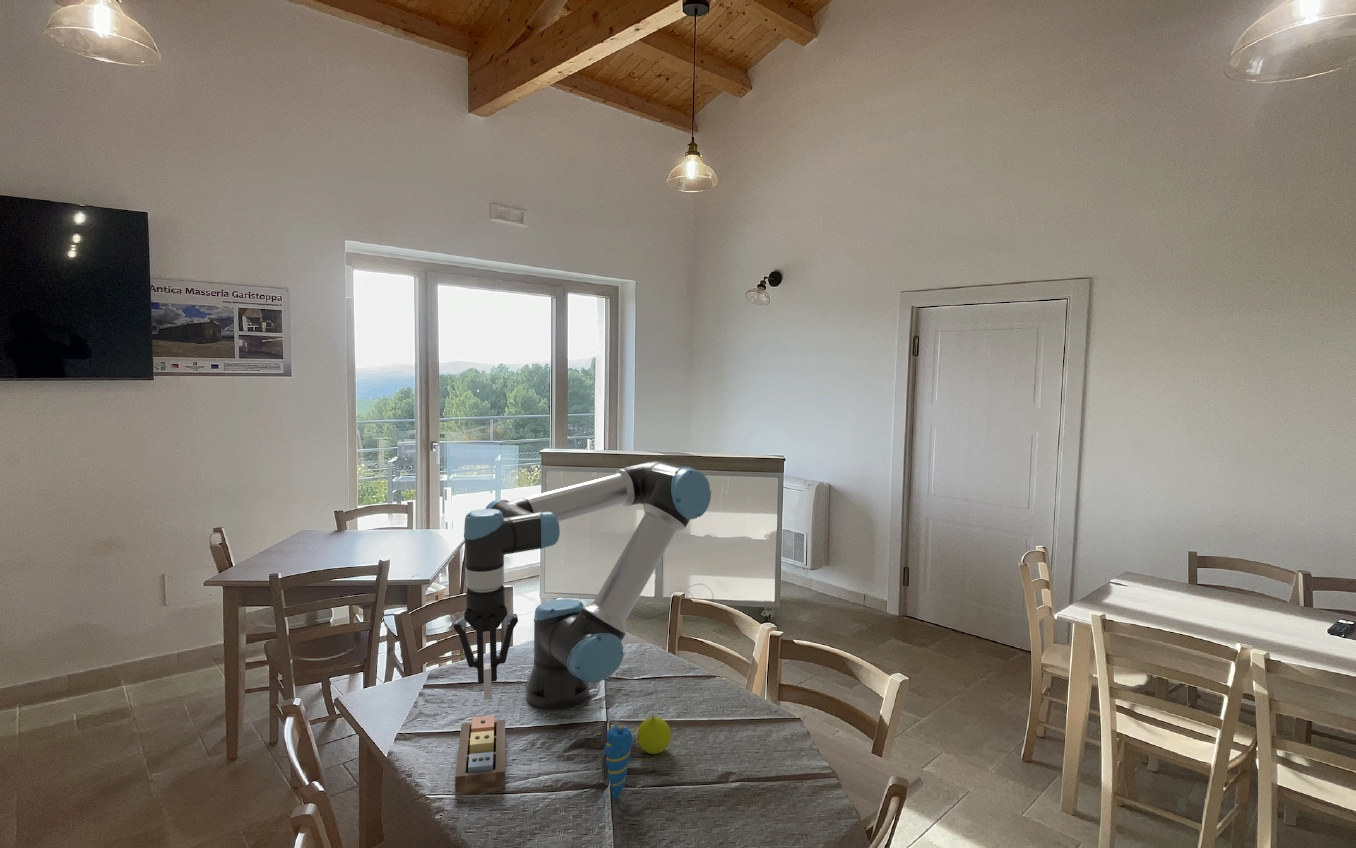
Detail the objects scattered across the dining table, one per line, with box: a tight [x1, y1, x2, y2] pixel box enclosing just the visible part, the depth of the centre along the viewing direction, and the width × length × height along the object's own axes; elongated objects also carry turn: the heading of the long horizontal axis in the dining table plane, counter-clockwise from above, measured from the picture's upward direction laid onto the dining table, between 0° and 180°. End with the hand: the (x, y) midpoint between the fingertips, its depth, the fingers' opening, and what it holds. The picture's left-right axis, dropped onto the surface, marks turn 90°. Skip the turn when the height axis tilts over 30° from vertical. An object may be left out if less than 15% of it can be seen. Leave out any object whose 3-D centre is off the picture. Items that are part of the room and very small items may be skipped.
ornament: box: [604, 723, 634, 800], centre depth 128 cm, size 5×5×15 cm
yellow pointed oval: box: [636, 714, 672, 755], centre depth 145 cm, size 7×7×10 cm
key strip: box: [454, 719, 506, 797], centre depth 138 cm, size 9×19×4 cm, turn 14°
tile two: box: [470, 730, 494, 754], centre depth 138 cm, size 4×4×3 cm
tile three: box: [468, 752, 493, 773], centre depth 132 cm, size 4×4×3 cm
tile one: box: [471, 715, 495, 733], centre depth 144 cm, size 4×4×3 cm
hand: (487, 696), depth 142 cm, fingers closed
